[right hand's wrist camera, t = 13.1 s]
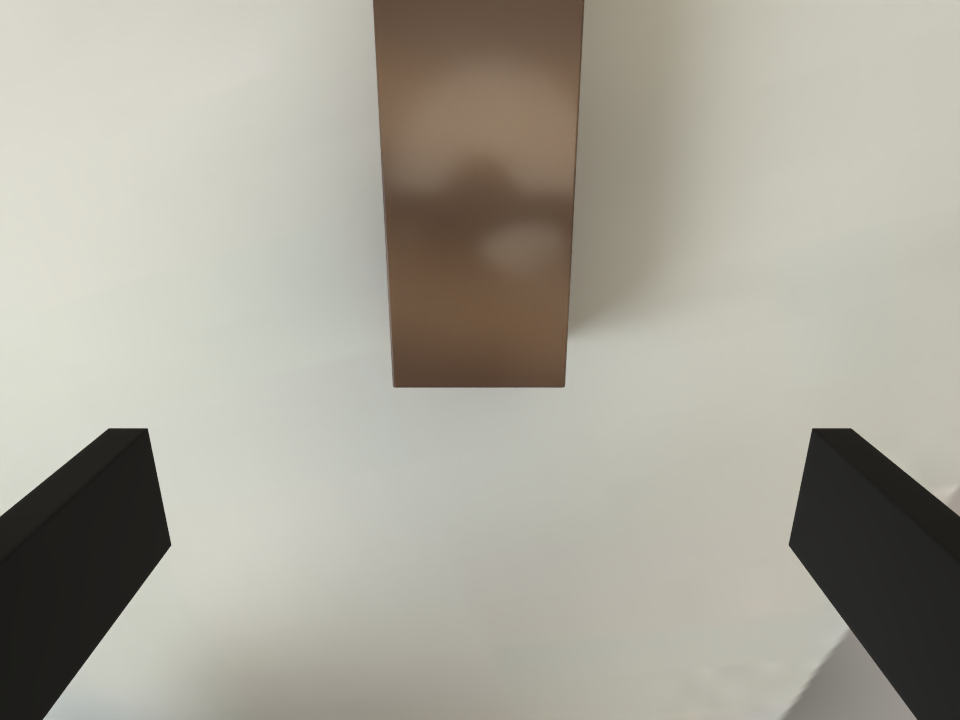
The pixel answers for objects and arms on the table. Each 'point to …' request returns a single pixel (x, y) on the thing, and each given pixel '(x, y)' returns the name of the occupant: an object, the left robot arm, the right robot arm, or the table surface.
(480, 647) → the table surface
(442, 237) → the slab
